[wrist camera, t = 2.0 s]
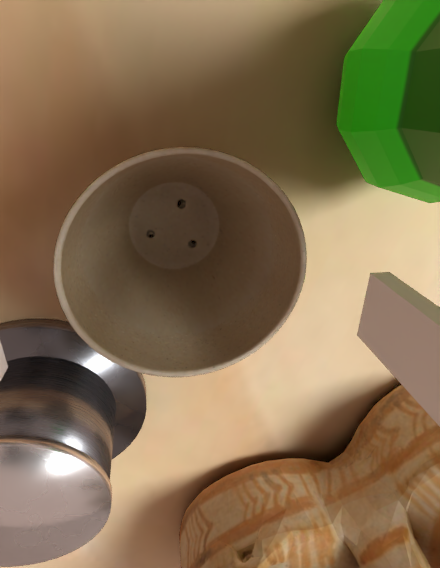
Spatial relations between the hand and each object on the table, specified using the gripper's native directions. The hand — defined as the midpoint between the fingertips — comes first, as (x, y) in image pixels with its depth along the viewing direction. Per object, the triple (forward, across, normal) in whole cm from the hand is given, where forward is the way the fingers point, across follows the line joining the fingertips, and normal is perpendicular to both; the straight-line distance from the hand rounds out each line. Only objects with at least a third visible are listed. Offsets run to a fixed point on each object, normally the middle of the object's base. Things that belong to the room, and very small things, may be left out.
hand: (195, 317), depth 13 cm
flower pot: (+9, 0, +1) cm, 9 cm away
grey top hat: (+9, -9, -11) cm, 17 cm away
